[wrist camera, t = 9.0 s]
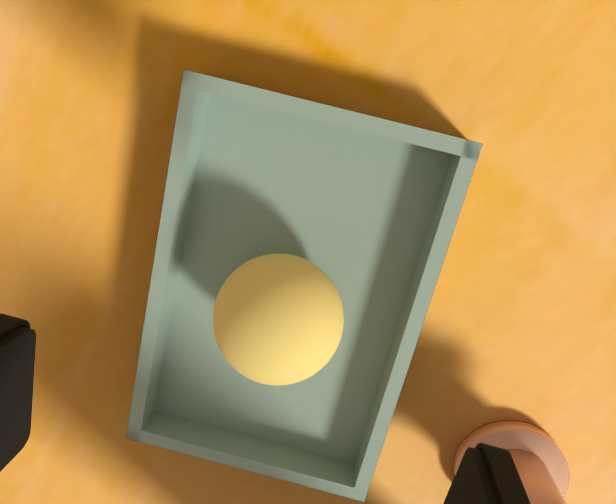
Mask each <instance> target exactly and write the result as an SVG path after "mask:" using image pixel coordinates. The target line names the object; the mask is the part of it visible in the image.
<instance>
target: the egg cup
mask: <svg viewBox="0 0 616 504" xmlns="http://www.w3.org/2000/svg"><path fill="white" fill-rule="evenodd" d="M478 443H484V444H488V445H492V446H495V447H499V448H503V449H506V450H508V451H509V452H510V454H511V456H512V458H513V461H514V463H515V466H516V468H517V471H518V473H519V476H520V478H521V481H522V483H523V486H524V488H525V491H526V493H527V496H528V498H529V501H530V504H567V503H566V502H565V500H564V498H563V497H564V495H565V493H566V491H567V489H568V485H569V479H570V473H569V467H568V463H567V461H566V459H565V457H564V455H563V454H562V452H561V450H560V449H559V447H558V445H557V444H556V442H555V441H554V440H553V439H552V437H551V436H550V435H548V434H547V433H546V432H545V431H543V430H542V429H540V428H538V427H536V426H534V425H531V424H528V423H525V422H520V421H499V422H494V423H490V424H488V425H485V426H482V427H481V428H479V429H477V430H475V431H474V432H472V433H471V434H470V435H469V436H468V437H466V438H465V440H464V441H463V442H462V443H461V445H460V446H459V448H458V450H457V452H456V455H455V458H454V475H456V472H457V470H458V468H459V465H460V463H461V460H462V458H463V455H464V453H465V451H466V449H467V448H468V447H471V448H475V447H476V445H477V444H478Z"/></svg>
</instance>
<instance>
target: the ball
mask: <svg viewBox="0 0 616 504" xmlns="http://www.w3.org/2000/svg"><path fill="white" fill-rule="evenodd" d="M343 326H344V314H343V306H342V301H341V298H340V295H339V293H338V291H337V289H336V287H335V285H334V283H333V282H332V280H331V279H330V278H329V276H328V275H327V274H326V273H325V272H324V271H323V270H322V269H320V268H319V267H318V266H317V265H315V264H313V263H312V262H310V261H308V260H306V259H304V258H301V257H298V256H295V255H290V254H282V253H275V254H267V255H262V256H259V257H256V258H253V259H251V260H249V261H247V262H245V263H244V264H242V265H241V266H239V267H238V268H237V269H236V270H235V271H234V272H233V273H231V274H230V276H229V277H228V278H227V279H226V280H225V282H224V284H223V285H222V287H221V289H220V290H219V293H218V295H217V297H216V301H215V305H214V309H213V330H214V336H215V339H216V342H217V345H218V347H219V349H220V351H221V353H222V355H223V356H224V358H225V359H226V360H227V362H228V363H229V364H230V365H231V366H232V367H233V368H234V369H235V370H236V371H238V372H239V373H240V374H242V375H243V376H245V377H246V378H248V379H251V380H253V381H255V382H258V383H262V384H266V385H275V386H279V385H289V384H294V383H297V382H300V381H303V380H305V379H307V378H309V377H311V376H313V375H314V374H315V373H317V372H318V371H319V370H321V369H322V368H323V367H324V366H325V365H326V364H327V363H328V362H329V360H330V359H331V358H332V356H333V355H334V353H335V351H336V349H337V347H338V345H339V343H340V340H341V336H342V332H343Z"/></svg>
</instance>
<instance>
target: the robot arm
mask: <svg viewBox="0 0 616 504" xmlns="http://www.w3.org/2000/svg"><path fill="white" fill-rule="evenodd" d="M35 343H36V333H35V331H34V330H33V329H30V324H29V322H28V321H26V320H23V319H20V318H16V317H12V316H9V315H5V314H0V471H1V470H2V469H3V468H4V467H5V466H6V465H7V464H8V463H9V462H10V461H11V460H12V459H13V458H14V457H15V456H16V455H17V454H18V453H19V452H20V451H21V449H22V448H23V447H24V446H25V444H26V442H27V440H28V438H29V435H30V430H31V412H32V395H33V378H34V360H35ZM444 504H530V501H529V498H528V496H527V493H526V491H525V488H524V486H523V483H522V481H521V478H520V476H519V473H518V471H517V468H516V466H515V463H514V461H513V458H512V456H511V454H510V452H509V451H508V450H506V449H503V448H499V447H495V446H492V445H488V444H484V443H478V444H477V445H476V447H475V448H471V447H468V448H467V449H466V451H465V453H464V455H463V458H462V460H461V463H460V465H459V468H458V470H457V472H456V475H455V477H454V480H453V482H452V484H451V487H450V489H449V492H448V494H447V496H446V499H445V501H444Z"/></svg>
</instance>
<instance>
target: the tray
mask: <svg viewBox="0 0 616 504" xmlns="http://www.w3.org/2000/svg"><path fill="white" fill-rule="evenodd" d="M482 144H483V143H479V142H475V141H471V140H467V139H462V138H458V137H454V136H450V135H446V134H442V133H438V132H434V131H430V130H426V129H422V128H418V127H414V126H410V125H406V124H402V123H398V122H394V121H390V120H386V119H382V118H378V117H374V116H370V115H366V114H362V113H358V112H354V111H350V110H345V109H341V108H337V107H333V106H329V105H325V104H321V103H317V102H313V101H309V100H305V99H301V98H297V97H293V96H289V95H285V94H281V93H277V92H273V91H269V90H265V89H261V88H257V87H253V86H249V85H245V84H241V83H237V82H233V81H228V80H224V79H220V78H216V77H212V76H208V75H204V74H200V73H196V72H192V71H188V70H184V72H183V78H182V85H181V91H180V97H179V104H178V110H177V117H176V123H175V129H174V136H173V142H172V148H171V155H170V161H169V168H168V174H167V180H166V187H165V193H164V199H163V206H162V212H161V219H160V225H159V231H158V238H157V244H156V250H155V257H154V263H153V270H152V276H151V282H150V289H149V295H148V301H147V308H146V314H145V321H144V327H143V333H142V340H141V346H140V352H139V359H138V365H137V371H136V378H135V384H134V391H133V397H132V403H131V410H130V416H129V422H128V429H127V435H126V438H127V439H131V440H135V441H139V442H142V443H146V444H150V445H153V446H157V447H161V448H165V449H168V450H172V451H176V452H179V453H183V454H187V455H191V456H194V457H198V458H202V459H206V460H209V461H213V462H217V463H220V464H224V465H228V466H232V467H235V468H239V469H243V470H246V471H250V472H254V473H258V474H261V475H265V476H269V477H272V478H276V479H280V480H284V481H287V482H291V483H295V484H299V485H302V486H306V487H310V488H313V489H317V490H321V491H325V492H328V493H332V494H336V495H339V496H343V497H347V498H351V499H354V500H358V501H362V502H364V501H365V498H366V495H367V492H368V489H369V486H370V483H371V480H372V477H373V474H374V471H375V468H376V465H377V462H378V459H379V456H380V453H381V450H382V447H383V444H384V441H385V438H386V435H387V431H388V428H389V425H390V422H391V419H392V416H393V413H394V410H395V407H396V404H397V401H398V398H399V395H400V392H401V389H402V386H403V383H404V380H405V377H406V374H407V371H408V368H409V365H410V362H411V359H412V356H413V353H414V350H415V347H416V344H417V341H418V338H419V335H420V332H421V329H422V326H423V323H424V320H425V317H426V314H427V311H428V308H429V305H430V302H431V299H432V296H433V293H434V289H435V286H436V283H437V280H438V277H439V274H440V271H441V268H442V265H443V262H444V259H445V256H446V253H447V250H448V247H449V244H450V241H451V238H452V235H453V232H454V229H455V226H456V223H457V220H458V217H459V214H460V211H461V208H462V205H463V202H464V199H465V196H466V193H467V190H468V187H469V184H470V181H471V178H472V175H473V172H474V169H475V166H476V163H477V160H478V157H479V154H480V151H481V147H482ZM275 253H282V254H290V255H295V256H298V257H301V258H304V259H306V260H308V261H310V262H312V263H313V264H315V265H317V266H318V267H319V268H320V269H322V270H323V271H324V272H325V273H326V274H327V275H328V276H329V278H330V279H331V280H332V282H333V283H334V285H335V287H336V289H337V291H338V293H339V295H340V298H341V301H342V306H343V314H344V326H343V332H342V336H341V340H340V343H339V345H338V347H337V349H336V351H335V353H334V355H333V356H332V358H331V359H330V360H329V362H328V363H327V364H326V365H325V366H324V367H323V368H322V369H321V370H319V371H318V372H317V373H315V374H314V375H313V376H311V377H309V378H307V379H305V380H303V381H300V382H297V383H294V384H289V385H279V386H275V385H266V384H262V383H258V382H255V381H253V380H251V379H248V378H246V377H245V376H243V375H242V374H240V373H239V372H238V371H236V370H235V369H234V368H233V367H232V366H231V365H230V364H229V363H228V362H227V360H226V359H225V358H224V356H223V355H222V353H221V351H220V349H219V347H218V345H217V342H216V339H215V336H214V330H213V309H214V305H215V301H216V297H217V295H218V293H219V290H220V289H221V287H222V285H223V284H224V282H225V280H226V279H227V278H228V277H229V276H230V274H231V273H233V272H234V271H235V270H236V269H237V268H238V267H239V266H241V265H242V264H244V263H245V262H247V261H249V260H251V259H253V258H256V257H259V256H262V255H267V254H275Z"/></svg>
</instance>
